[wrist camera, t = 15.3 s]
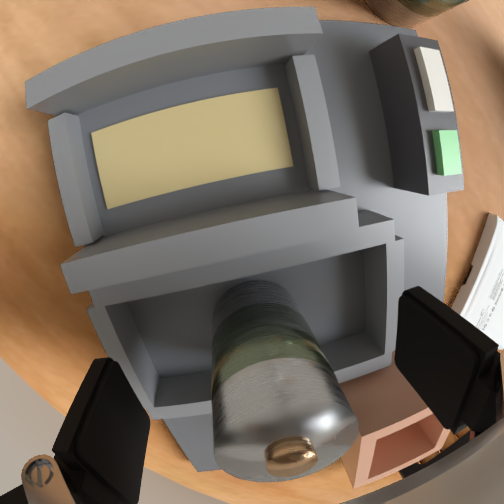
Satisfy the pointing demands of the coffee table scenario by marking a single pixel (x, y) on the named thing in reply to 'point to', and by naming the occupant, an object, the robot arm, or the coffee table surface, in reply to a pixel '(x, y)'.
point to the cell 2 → (410, 10)
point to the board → (250, 188)
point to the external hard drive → (486, 284)
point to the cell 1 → (273, 389)
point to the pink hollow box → (388, 426)
